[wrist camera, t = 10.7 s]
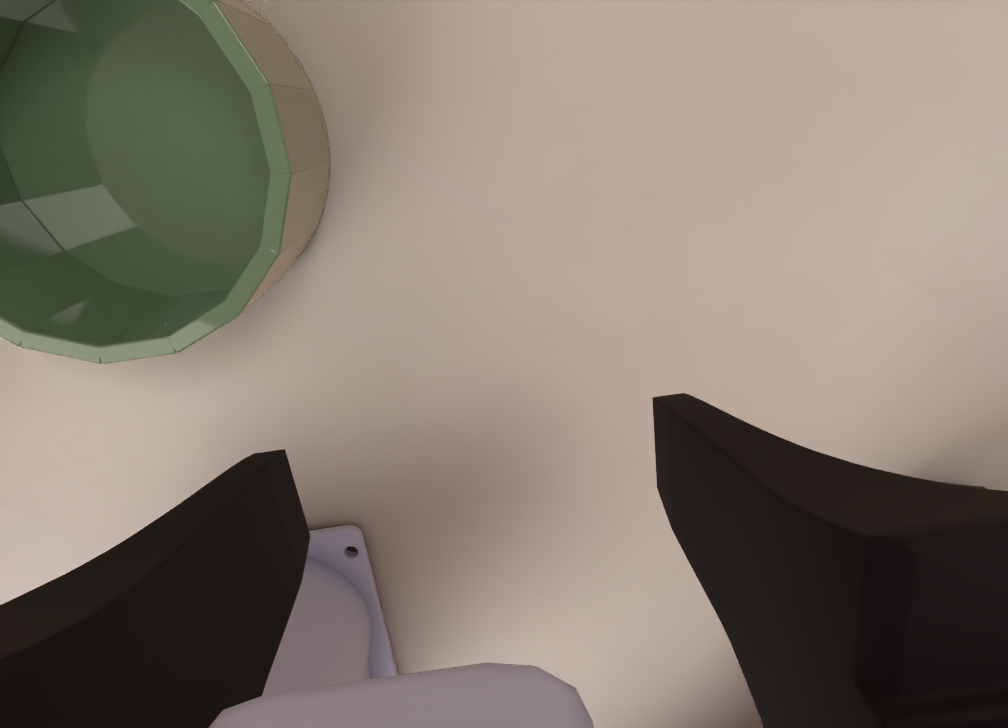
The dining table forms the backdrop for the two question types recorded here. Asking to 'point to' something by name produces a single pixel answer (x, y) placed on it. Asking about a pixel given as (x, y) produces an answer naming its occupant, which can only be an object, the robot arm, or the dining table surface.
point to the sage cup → (148, 171)
